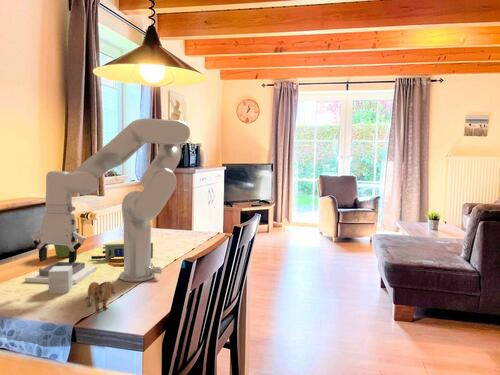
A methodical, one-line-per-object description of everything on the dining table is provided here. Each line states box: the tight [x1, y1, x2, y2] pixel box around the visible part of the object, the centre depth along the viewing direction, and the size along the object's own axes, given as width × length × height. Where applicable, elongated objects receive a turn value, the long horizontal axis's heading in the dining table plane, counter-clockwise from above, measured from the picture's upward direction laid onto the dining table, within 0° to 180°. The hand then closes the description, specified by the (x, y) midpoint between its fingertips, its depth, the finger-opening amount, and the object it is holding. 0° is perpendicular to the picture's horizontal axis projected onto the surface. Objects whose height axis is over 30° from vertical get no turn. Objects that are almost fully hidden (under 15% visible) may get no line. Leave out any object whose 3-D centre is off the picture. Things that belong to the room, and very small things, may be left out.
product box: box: [48, 266, 74, 294], centre depth 126 cm, size 6×6×7 cm
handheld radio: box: [90, 242, 154, 261], centre depth 164 cm, size 7×3×25 cm
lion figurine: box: [84, 280, 118, 314], centre depth 112 cm, size 15×5×9 cm, turn 50°
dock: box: [24, 261, 98, 285], centre depth 140 cm, size 18×16×4 cm
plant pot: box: [53, 227, 81, 259], centre depth 166 cm, size 12×12×11 cm
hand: (57, 261), depth 125 cm, fingers open, 9 cm apart
